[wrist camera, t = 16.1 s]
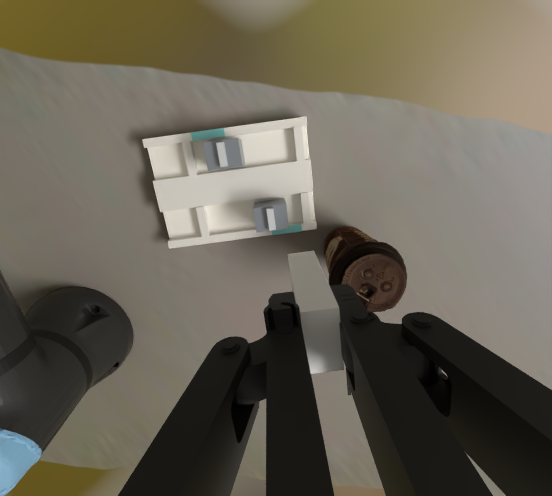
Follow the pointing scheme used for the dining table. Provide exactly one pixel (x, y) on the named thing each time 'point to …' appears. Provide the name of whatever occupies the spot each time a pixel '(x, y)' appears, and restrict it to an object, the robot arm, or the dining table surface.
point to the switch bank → (232, 182)
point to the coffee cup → (365, 267)
